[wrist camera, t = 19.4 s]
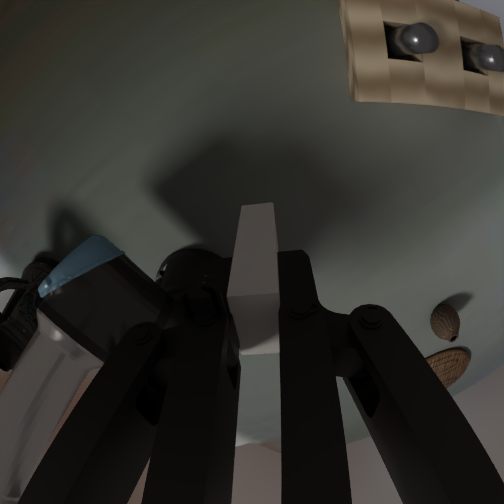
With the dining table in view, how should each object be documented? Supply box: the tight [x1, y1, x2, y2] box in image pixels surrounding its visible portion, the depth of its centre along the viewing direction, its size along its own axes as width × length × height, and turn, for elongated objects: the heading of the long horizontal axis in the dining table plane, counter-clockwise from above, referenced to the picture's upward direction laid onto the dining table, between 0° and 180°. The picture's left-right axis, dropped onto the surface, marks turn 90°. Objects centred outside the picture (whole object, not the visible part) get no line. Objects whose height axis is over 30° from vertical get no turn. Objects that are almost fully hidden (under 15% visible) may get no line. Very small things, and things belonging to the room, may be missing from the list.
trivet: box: [425, 348, 469, 388], centre depth 70 cm, size 25×25×2 cm
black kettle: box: [0, 258, 59, 371], centre depth 46 cm, size 16×19×25 cm
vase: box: [430, 305, 460, 342], centre depth 53 cm, size 7×7×9 cm
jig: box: [337, 0, 504, 116], centre depth 28 cm, size 18×28×4 cm, turn 98°
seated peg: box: [385, 22, 439, 57], centre depth 26 cm, size 4×4×10 cm
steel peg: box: [461, 44, 504, 72], centre depth 25 cm, size 4×4×10 cm
